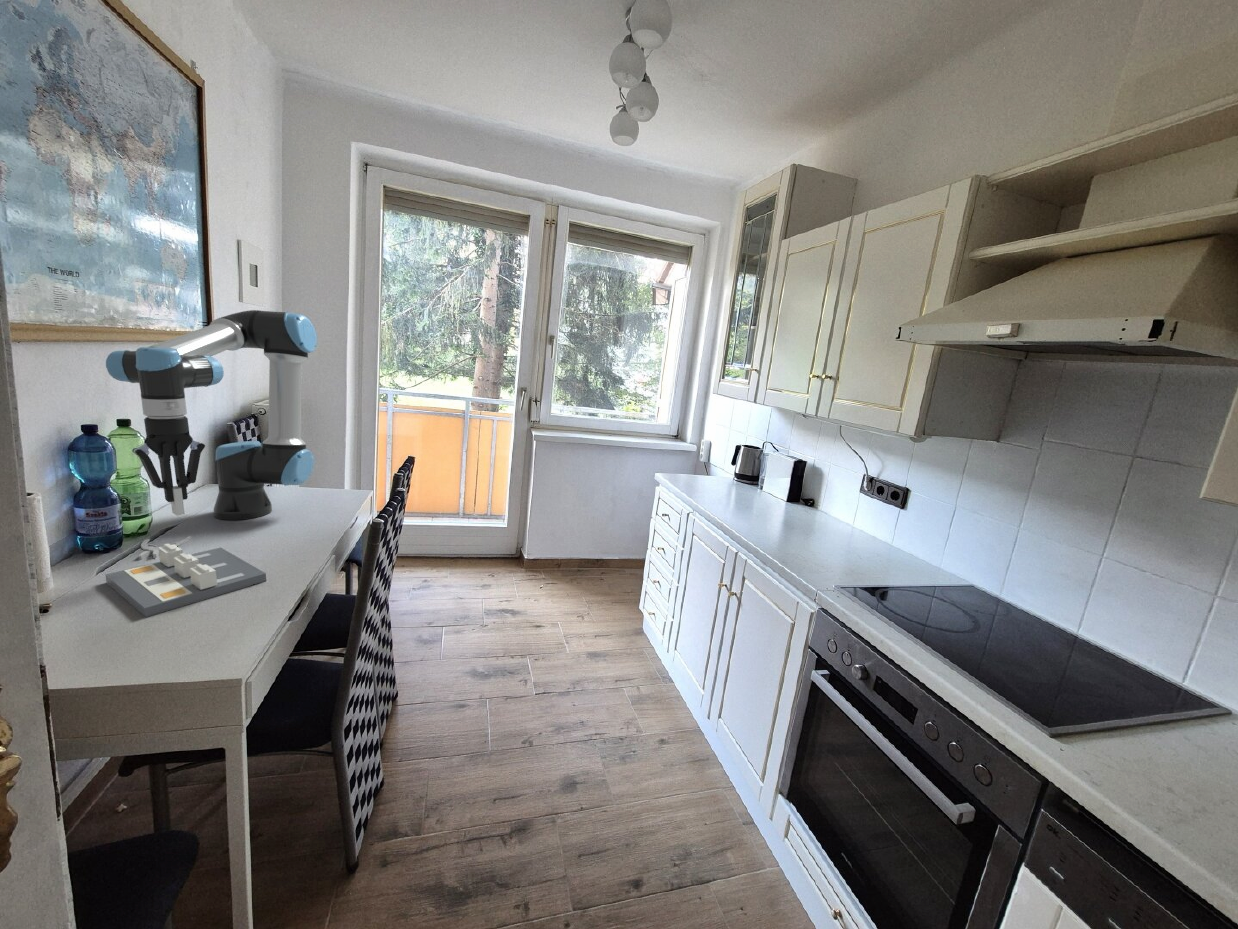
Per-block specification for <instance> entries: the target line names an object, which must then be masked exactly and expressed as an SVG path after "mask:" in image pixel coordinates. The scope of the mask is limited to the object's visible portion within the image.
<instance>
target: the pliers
mask: <svg viewBox="0 0 1238 929" xmlns="http://www.w3.org/2000/svg"><path fill="white" fill-rule="evenodd" d="M191 539H192V536H191V535H188V536H187V537H185V538H184V539H182V540H181V541H177V542H172V543H169V544H170V545H173V544H174V545H176V546H178V547H180V546H183V545H184V544H186V543H187V541H188V540H189V541H190V540H191ZM150 540H151V538H146V539H145V540H144V541H142V543H141V544H140V548H141V549H142V550H143V552H141V553H139V554H138V561H142V560H144V559H147V558H148V557H150V556H152V558H153V560H155V559H154V558H157V559H158V557H159V551H158V548H159V547H160V546H158V545H156V544H151V543H150V544H149V542H150ZM189 541H188V542H189ZM162 547H164V545H162Z"/></svg>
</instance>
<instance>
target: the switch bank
mask: <svg viewBox="0 0 1238 929" xmlns="http://www.w3.org/2000/svg"><path fill="white" fill-rule="evenodd" d="M190 554H191V553H190ZM191 555H192V556H194V557H195V558H197V559H198V560H199V564H202V565H205V564H206V565H208V566H209V567H211V568H213V569H214V570H216V577H217V585H216V586H212V587H209V588H205V589H202V590H201V589H199V588H198V587H196V586H195V585H193V584H192V583H191V576H189V577H185V578H183V577H182V576H181V575H179V574H178V573H176V572H175V566H170V567H167V566H166V565H164V564H163V563H162V562H160V561H158V562H154V563H153V562H152V563H148V564H145V565H140V566H136V567H131V568H128V569H124V570H119V571H114V572H109V573H107V574H105V580H106V583H107V585H108V586H110V587H111V588H112V590H114V589H115V590H114V591H115V592H116V593H118V594H119V595H120V596H121V597H122V598H124V599H125V600H126V601H127V602H128V603H129V604H130V605H132V606H133V607H134V608H135V609H136V610H137V611H138V612H139V613H140V614H142V615H143V616H144V617H145V618H147V617H148V618H149V617H152V616H153V615H154V616H155V615H158V614H161V613H165V612H167V611H171V610H175V609H178V608H182V607H185V606H187V605H192V604H195V603H198V602H202V601H204V600H207V599H212V598H214V597H218V596H222V595H224V594H228V593H231V592H234V591H238V590H242V589H244V588H248V587H252V586H254V585H253V584H255V585H258V584H261V583H265V582H267V573H266V572H264V571H262V570H261V569H259V568H257V567H256V566H255V565H252V564H251V563H249V562H247V561H245V560H244V559H242V558H240V557H238V556H236V555H235V554H232V552H229V551H228V550H226V549H225V548H222V547H218V548H213V549H209V550H203V551H200V552H196V553H192V554H191ZM257 583H258V584H257ZM251 585H252V586H251ZM237 589H238V590H237ZM217 595H218V596H217Z"/></svg>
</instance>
